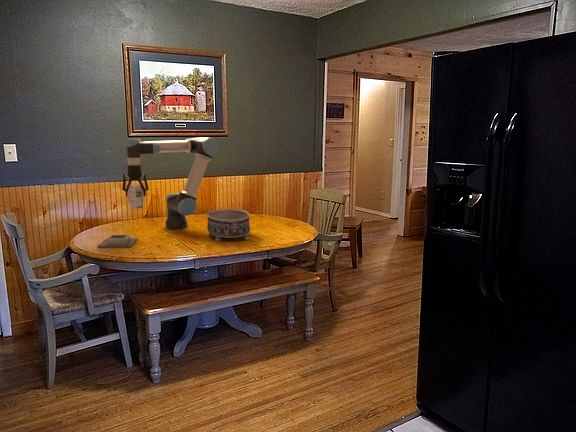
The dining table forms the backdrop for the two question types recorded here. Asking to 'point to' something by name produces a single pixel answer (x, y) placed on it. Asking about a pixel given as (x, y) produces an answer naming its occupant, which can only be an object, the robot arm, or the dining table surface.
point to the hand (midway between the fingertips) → (136, 201)
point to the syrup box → (135, 197)
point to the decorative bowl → (228, 223)
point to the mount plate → (118, 241)
